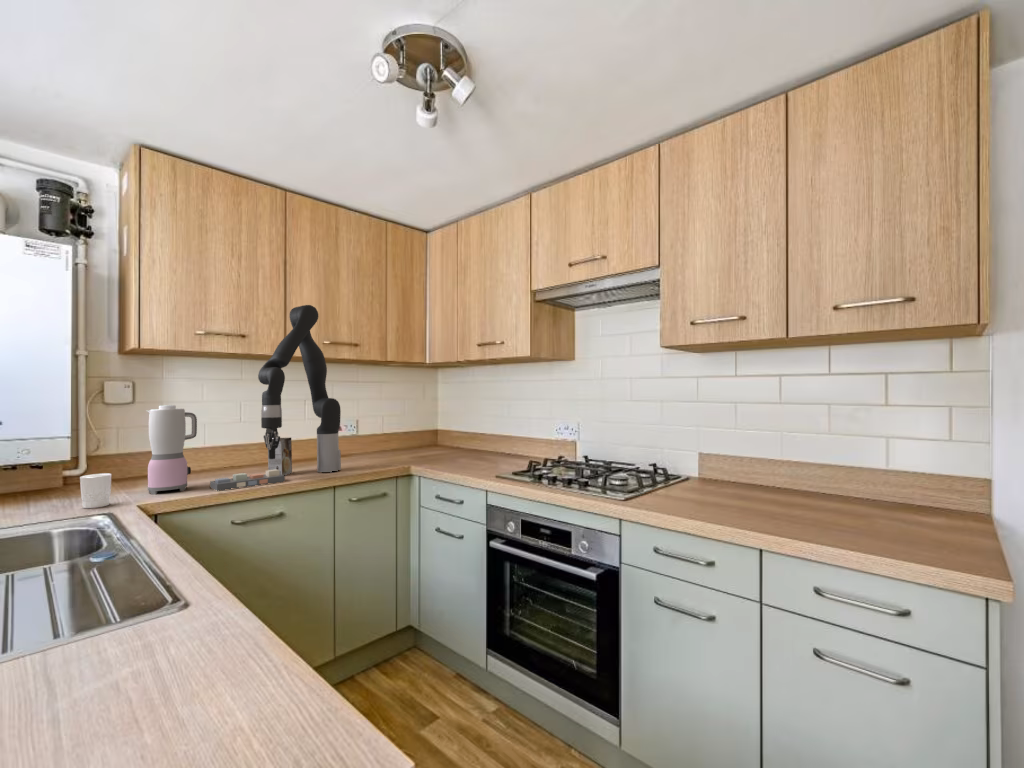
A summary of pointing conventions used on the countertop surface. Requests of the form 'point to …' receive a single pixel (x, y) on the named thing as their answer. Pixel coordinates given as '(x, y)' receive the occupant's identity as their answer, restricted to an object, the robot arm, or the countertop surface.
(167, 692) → the countertop surface
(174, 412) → the blender
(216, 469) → the countertop surface
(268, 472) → the sand key
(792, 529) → the countertop surface
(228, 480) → the slate key
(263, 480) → the keypad
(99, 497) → the white cup
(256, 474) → the terracotta key
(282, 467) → the coffee box
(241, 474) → the sage key
